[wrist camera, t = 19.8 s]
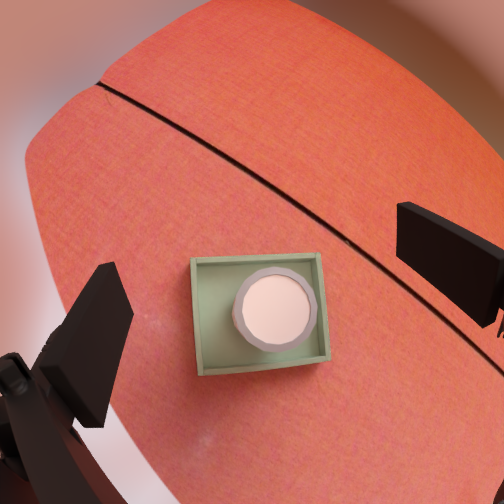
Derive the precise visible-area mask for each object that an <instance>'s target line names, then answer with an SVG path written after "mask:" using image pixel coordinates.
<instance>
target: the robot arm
mask: <svg viewBox="0 0 504 504" xmlns="http://www.w3.org/2000/svg"><path fill="white" fill-rule="evenodd" d="M396 256H397V257H398V258H399V259H401V260H402V261H403V262H404V263H406V264H407V265H408V266H410V267H411V268H412V269H413V270H415V271H416V272H417V273H418V274H420V275H421V276H422V277H423V278H425V279H426V280H427V281H428V282H429V283H431V284H432V285H433V286H434V287H435V288H437V289H438V290H439V291H440V292H441V293H443V294H444V295H445V296H446V297H447V298H449V299H450V300H451V301H452V302H453V303H454V304H456V305H457V306H458V307H459V308H460V309H461V310H462V311H464V312H465V313H466V314H467V315H468V316H469V317H470V318H472V319H473V320H474V321H475V322H476V323H477V324H478V325H479V326H480V327H481V328H485V327H487V326H488V325H490V324H492V323H494V322H495V320H496V317H497V314H498V310H499V308H501V309H502V310H503V311H504V250H503V249H501V248H499V247H498V246H496V245H494V244H492V243H491V242H489V241H487V240H485V239H483V238H482V237H480V236H478V235H476V234H474V233H472V232H470V231H469V230H467V229H465V228H463V227H461V226H459V225H457V224H455V223H453V222H451V221H449V220H447V219H445V218H443V217H441V216H439V215H437V214H435V213H433V212H431V211H429V210H427V209H425V208H422V207H420V206H418V205H416V204H414V203H412V202H403V203H398V204H397V245H396ZM133 315H134V313H133V310H132V308H131V305H130V303H129V300H128V298H127V295H126V293H125V290H124V288H123V285H122V282H121V280H120V277H119V274H118V271H117V269H116V266H115V263H114V262H109V263H105V264H101V265H99V266H98V267H97V269H96V270H95V272H94V273H93V275H92V276H91V278H90V279H89V281H88V282H87V284H86V285H85V287H84V288H83V290H82V292H81V293H80V295H79V296H78V298H77V299H76V301H75V303H74V304H73V306H72V308H71V309H70V311H69V312H68V314H67V316H66V318H65V319H64V321H63V323H62V324H61V325H59V326H58V327H57V328H56V329H55V330H54V331H53V332H52V333H51V334H50V336H49V338H48V340H47V341H46V345H44V347H43V348H42V352H40V354H39V356H38V357H37V359H36V361H35V363H34V365H33V367H32V369H31V370H29V368H28V367H27V365H26V364H25V362H24V361H23V359H22V357H21V356H20V355H19V353H15V352H13V353H8V354H6V355H4V356H2V357H1V358H0V393H1V394H2V395H3V396H1V397H0V453H1V455H0V456H1V457H0V504H128V503H127V502H126V501H125V500H124V499H123V497H122V496H121V495H120V493H119V492H118V491H117V489H116V488H115V487H114V486H113V484H112V483H111V482H110V480H109V479H108V478H107V476H106V475H105V473H104V472H103V471H102V469H101V468H100V466H99V465H98V463H97V462H96V460H95V459H94V457H93V456H92V454H91V453H90V451H89V450H88V448H87V447H86V445H85V443H84V442H83V440H82V439H81V437H80V435H79V434H78V432H77V431H76V430H75V429H74V427H73V426H72V424H73V421H74V418H77V420H78V421H79V422H80V424H81V425H82V426H83V427H84V428H103V427H104V423H105V418H106V413H107V410H108V405H109V401H110V397H111V393H112V389H113V385H114V381H115V377H116V374H117V370H118V366H119V362H120V359H121V355H122V352H123V348H124V345H125V341H126V338H127V335H128V331H129V328H130V325H131V321H132V318H133ZM503 331H504V315H503V318H502V322H501V325H500V328H499V331H498V333H497V337H498V338H499V337H500V334H501V333H502V332H503ZM503 338H504V335H503ZM493 504H504V480H503V482H502V484H501V486H500V487H499V489H498V491H497V493H496V496H495V498H494V501H493Z"/></svg>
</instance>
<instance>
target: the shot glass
mask: <svg viewBox="0 0 504 504" xmlns="http://www.w3.org/2000/svg"><path fill="white" fill-rule="evenodd" d="M317 309H318V305H317V302H316V298H315V295H314V291H313V289H312V288H311V287H310V285H309V284H308V283H307V281H306V280H305V279H304V277H302V276H300V275H299V274H297V273H295V272H294V271H292V270H291V269H286V268H280V267H270V268H266V269H261V270H258V271H256V272H255V273H254V274H252V275H251V276H250V277H248V278H247V279H246V280H245V281H244V282H243V284H242V286H241V287H240V289H239V291H238V292H237V294H236V297H235V300H234V303H233V308H232V319H233V322H234V326H235V327H236V329H237V330H238V331H239V332H240V334H241V335H242V336H243V337H244V338H245V339H246V340H247V341H248V342H249V343H251V344H252V345H254V346H256V347H258V348H259V349H261V350H263V351H270V352H284V351H287V350H290V349H293V348H296V347H297V346H299V345H300V344H301V343H302V342H303V341H304V340H306V339H307V338H308V337H309V335H310V333H311V331H312V329H313V327H314V326H315V324H316V318H317Z"/></svg>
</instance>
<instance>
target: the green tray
mask: <svg viewBox="0 0 504 504" xmlns="http://www.w3.org/2000/svg"><path fill="white" fill-rule="evenodd" d="M270 267H280V268H286V269H291V270H292V271H294V272H295V273H297V274H299V275H300V276H302V277H304V279H305V280H306V281H307V283H308V284H309V285H310V287H311V288H312V289H313V291H314V295H315V298H316V302H317V305H318V309H317V318H316V324H315V326H314V327H313V329H312V331H311V333H310V335H309V337H308V338H307V339H306V340H304V341H303V342H302V343H301V344H300V345H299V346H297V347H296V348H293V349H290V350H287V351H284V352H270V351H263V350H261V349H259V348H258V347H256V346H254V345H252V344H251V343H249V342H248V341H247V340H246V339H245V338H244V337H243V336H242V335H241V334H240V332H239V331H238V330H237V329H236V327H235V326H234V322H233V319H232V308H233V303H234V300H235V297H236V294H237V292H238V291H239V289H240V287H241V286H242V284H243V282H244V281H245V280H246V279H247V278H248V277H250V276H251V275H252V274H254V273H255V272H256V271H258V270H261V269H266V268H270ZM190 273H191V292H192V309H193V324H194V338H195V350H196V361H197V372H198V376H204V375H205V376H207V375H221V374H233V373H244V372H253V371H262V370H271V369H279V368H286V367H293V366H300V365H307V364H313V363H319V362H325V361H331V350H330V338H329V327H328V317H327V307H326V297H325V288H324V279H323V271H322V263H321V255H320V252H316V253H292V254H268V255H243V256H218V257H197V258H196V257H193V258H190Z"/></svg>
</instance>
